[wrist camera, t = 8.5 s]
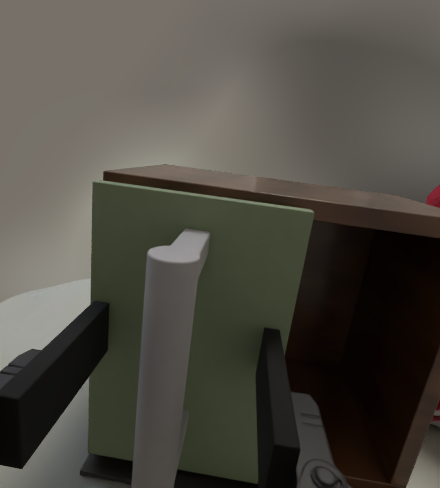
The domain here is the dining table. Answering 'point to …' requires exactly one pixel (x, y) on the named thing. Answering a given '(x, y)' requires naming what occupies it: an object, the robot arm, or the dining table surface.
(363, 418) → the wardrobe
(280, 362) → the robot arm
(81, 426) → the dining table surface
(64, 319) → the dining table surface
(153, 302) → the sliding door
